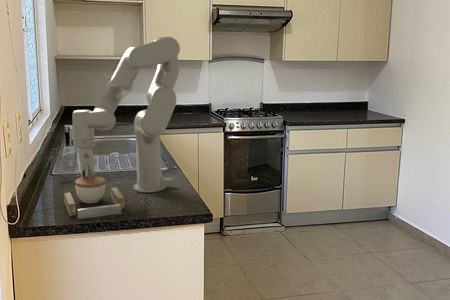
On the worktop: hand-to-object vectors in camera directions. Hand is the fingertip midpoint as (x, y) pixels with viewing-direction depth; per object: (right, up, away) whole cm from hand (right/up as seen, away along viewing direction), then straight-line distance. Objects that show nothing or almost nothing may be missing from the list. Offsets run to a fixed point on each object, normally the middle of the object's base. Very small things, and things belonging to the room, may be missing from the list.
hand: (85, 190), depth 186 cm
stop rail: (+11, -7, -22) cm, 26 cm away
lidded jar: (+4, -3, -7) cm, 9 cm away
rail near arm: (+14, -4, -9) cm, 17 cm away
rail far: (-1, -5, -16) cm, 17 cm away
